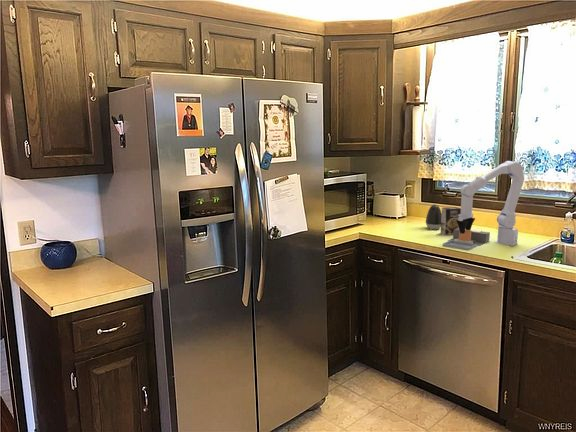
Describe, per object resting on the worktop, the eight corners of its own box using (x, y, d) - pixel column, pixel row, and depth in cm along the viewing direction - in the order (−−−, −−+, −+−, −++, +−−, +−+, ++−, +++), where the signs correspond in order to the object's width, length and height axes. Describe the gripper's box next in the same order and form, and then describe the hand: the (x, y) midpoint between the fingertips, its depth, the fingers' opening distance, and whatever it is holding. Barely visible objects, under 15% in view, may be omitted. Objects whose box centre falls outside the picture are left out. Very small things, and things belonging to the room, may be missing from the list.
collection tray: (476, 247, 242) (476, 244, 242) (468, 251, 235) (468, 248, 235) (450, 243, 252) (450, 240, 252) (442, 247, 245) (442, 243, 244)
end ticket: (470, 243, 249) (471, 230, 248) (469, 243, 248) (470, 231, 247) (459, 241, 253) (460, 229, 252) (458, 242, 252) (459, 229, 251)
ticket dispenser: (489, 242, 252) (489, 231, 251) (479, 247, 243) (480, 236, 242) (457, 237, 265) (457, 227, 263) (446, 241, 255) (447, 231, 254)
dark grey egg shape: (423, 229, 287) (424, 205, 284) (428, 226, 296) (429, 202, 293) (439, 231, 282) (440, 206, 279) (444, 227, 290) (445, 204, 287)
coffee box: (445, 236, 268) (446, 209, 265) (440, 234, 274) (441, 207, 271) (460, 235, 269) (461, 208, 266) (454, 233, 275) (455, 206, 272)
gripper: (464, 204, 255) (463, 228, 257) (453, 208, 244) (452, 233, 247) (477, 206, 250) (476, 230, 253) (466, 209, 240) (465, 235, 242)
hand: (465, 232), depth 249 cm, fingers open, 7 cm apart
